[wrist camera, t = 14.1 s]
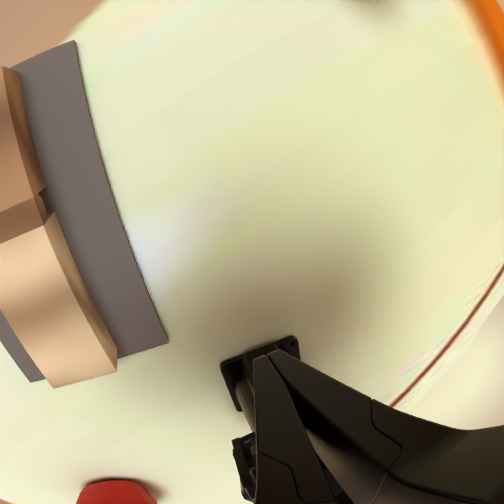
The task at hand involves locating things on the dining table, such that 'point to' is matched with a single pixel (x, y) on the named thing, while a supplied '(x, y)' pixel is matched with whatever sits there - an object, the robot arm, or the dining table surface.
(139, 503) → the pomegranate
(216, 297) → the dining table surface
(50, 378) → the birch plank
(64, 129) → the underlay mat
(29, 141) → the wooden block
